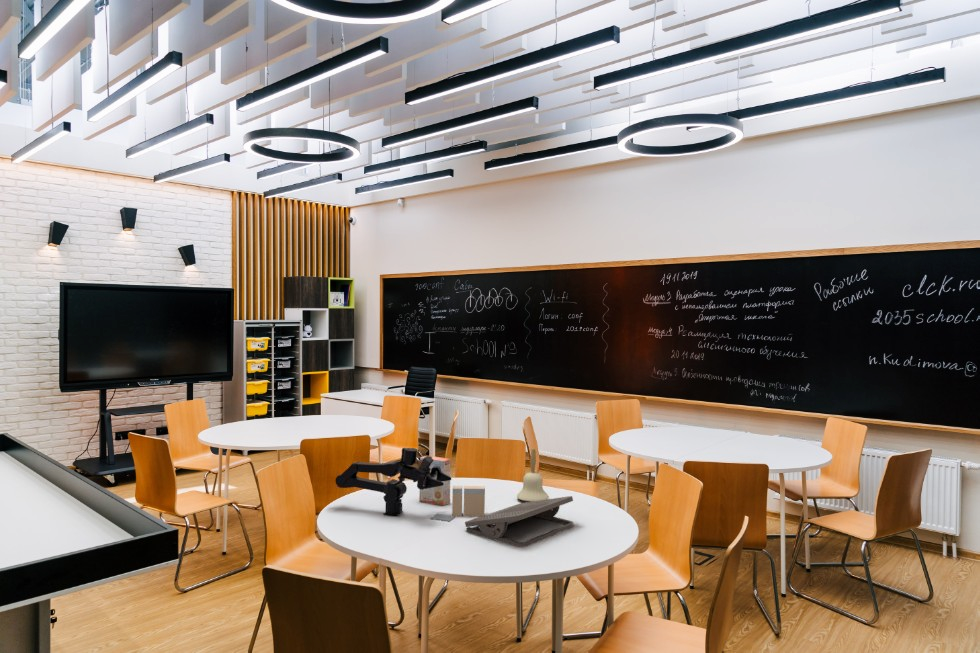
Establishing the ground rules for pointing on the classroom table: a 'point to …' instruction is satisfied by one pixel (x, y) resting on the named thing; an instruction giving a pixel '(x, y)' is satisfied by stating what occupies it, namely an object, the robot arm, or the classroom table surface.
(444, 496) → the cracker box
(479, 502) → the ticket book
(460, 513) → the stub
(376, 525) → the classroom table surface
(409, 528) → the classroom table surface
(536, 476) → the handbell
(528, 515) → the foot rest
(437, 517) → the mat
